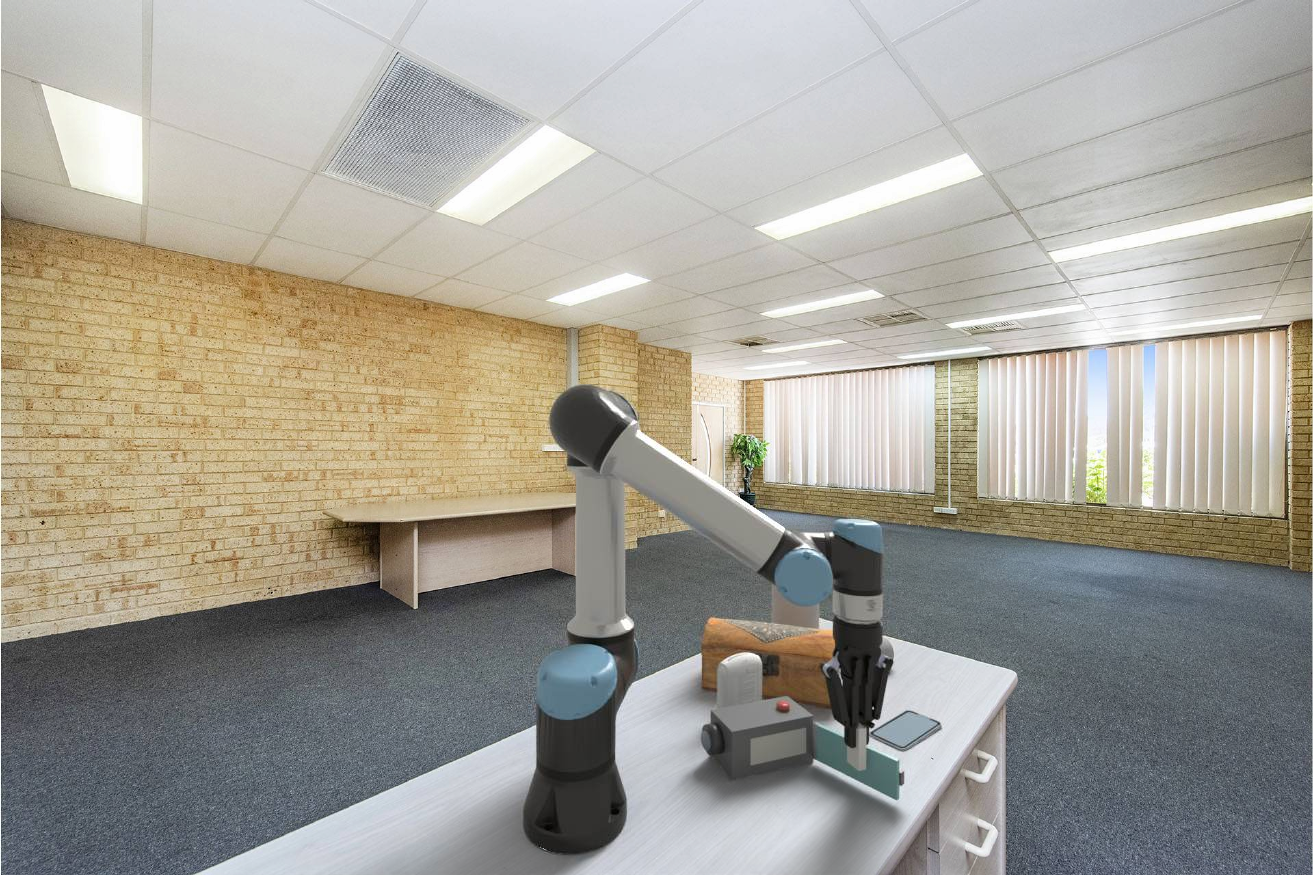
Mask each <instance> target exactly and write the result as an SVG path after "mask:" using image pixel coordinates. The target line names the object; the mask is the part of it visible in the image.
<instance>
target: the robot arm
mask: <svg viewBox="0 0 1313 875" xmlns="http://www.w3.org/2000/svg"><path fill="white" fill-rule="evenodd" d="M548 419H549V420H548V424H549V430H550V433H551V436H552V439H553V440H554V442H555V443H556V444H557V446H558V447H560V449H561V450H562V451H563V452H564V453H566V468H567V470H569V472H571V473H572V475H573V476H574V477H575V615H574V617H572V619H571V620H569V622H568V623H567V625H566V631H567V632H566V646H564V647H563V648H562V649H555V651H553V652H550V654H548V655H547V656H546V657H545V658H544V659H543V660H542V662H541V663H540V665H539V667H538V670H537V676H536V677H537V678H536V683H535V690H534V691H535V698H536V699H535V700H536V701H535V703H536V705H535V706H536V708H535V711H536V713H535V714H536V716H535V718H536V719H535V721H536V724H535V725H536V726H535V728H536V729H535V731H536V732H535V739H536V741H535V742H536V743H535V747H536V748H535V749H536V750H535V759H536V760H535V769H534V772H533V775H532V779H531V782H530V785H529V789H528V791H527V794H526V796H525V801H524V804H523V814H522V815H523V818H522V824H523V825H522V826H523V830H524V834H525V836H526V837H527V839H528V840H529V841H530V842H531V843H532V844H533V845H534V846H536V847H537V846H538V848H539V847H541V848H544V849H546V850H547V851H546V850H545V851H546V852H549V851H550V852H549V853H553V852H554V854H558V853H562V854H561V855H575V854H576V855H577V854H583V853H588V852H591V851H594V850H597V849H599V848H601V847H604V846H605V845H607V844H609V843H610V842H611V841H613V840H614V839H615V838H616V837H617V836H618V835H619V834H620V833H621V831H622V830H623V829H624V827H625V824H626V822H627V819H628V818H627V816H628V814H627V813H628V809H627V808H628V799H627V794H626V791H625V788H624V785H623V781H622V778H621V775H620V771H619V768H618V765H617V763H616V742H617V740H616V733H617V732H616V728H617V727H616V722H617V715H618V712H619V710H620V707H622V706H621V705H622V703H623V702H624V700H625V698H626V695H627V692H628V691H629V689H630V687H631V686H632V684H633V683H634V681H635V679H636V677H637V673H638V671H639V666H640V650H639V646H638V643H637V640H636V638H635V622H634V620H633V619H632V618H631V617H630V616H629V615H628V614H627V612H626V485H628V486H629V487H631V488H632V489H634V490H635V491H637V492H638V493H640V494H641V495H642V496H644V497H645V498H647V499H649V500H650V501H651V502H653V503H654V504H656V505H657V506H659V507H660V508H662V509H663V510H664V511H666V512H668V513H669V514H671V515H672V516H673V517H675V518H676V519H678V520H679V521H680V522H682V523H683V524H684V525H687V526H688V527H689V528H691V529H692V530H694V531H695V532H697V533H699V534H700V535H701V536H703V537H704V538H706V539H707V540H709V541H710V542H711V543H713V544H714V545H716V546H717V547H719V548H720V549H722V550H723V551H725V552H726V553H727V554H729V555H730V556H732V557H733V558H735V559H737V560H738V561H739V562H740V563H742V564H744V565H745V566H747V567H748V568H749V569H752V570H753V571H754V572H755V573H756V574H758V575H759V576H761V578H763V579H765V580H766V581H767V582H769V583H770V584H771V585H772V584H773V585H775V586H776V587H777V589H778V591H779V592H780V593H781V595H782V596H783V597H784V598H785V599H787V600H788V601H789V602H791V603H793V604H795V605H798V606H804V607H807V606H814V605H816V604H819V605H820V603H822V602H824V600H826V598H827V597H828V596H829V595H830V593H831V591H832V613H834V615H833V617H832V631H833V638H834V641H835V648H834V651H833V658H832V659H831V660H830V661H829V662H828V663H827V664H826V663H824V662H822V663H821V664H820V669H821V671H822V673H823V674H824V676H825V679H826V684H827V689H828V694H829V699H830V704H831V708H830V709H831V713H832V718H833V720H835V721H836V722H838V723H839V724H840V725H841V726H843V734H844V742H845V744H846V745H847V762H848V763H849V764H850V765H852V766H853V767H854V768H855V769H857V770H858V771H861V770H865V769H866V745H868V746H869V743H870V735H869V732H870V729H871V730H873V729H875V726H876V724H875V723H874V722H873V721H874V720H875V721H880V719H881V716H882V711H883V710H882V709H883V705H884V701H885V700H884V699H885V694H886V688H887V683H888V680H889V679H888V678H889V673H890V671H891V669H892V667H893V666H894V659H891V658H889V657H887V656H885V655H883V654H882V653H881V648H880V646H881V644H882V642H883V638H884V635H883V632H884V631H883V629H884V628H883V626H884V624H883V622H882V620H881V619H882V618H883V614H884V613H883V612H884V611H883V608H884V606H883V601H884V600H883V599H884V598H883V596H884V595H883V572H884V570H883V569H884V554H885V550H884V540H883V529H882V527H881V525H880V524H879V523H877V522H875V521H872V520H869V519H860V518H840V519H837V520H834V522H833V525H832V528H831V531H829V530H828V531H805V530H787V528H785V527H784V526H782V525H780V524H779V523H778V522H776V521H774V520H773V519H771V518H770V517H768V516H767V515H765V514H764V513H762V512H761V511H759V510H758V509H756V508H755V507H754V506H752V505H750V504H749V503H748V502H746V501H745V500H743V499H742V498H740V497H739V496H737V495H736V494H734V493H732V492H731V491H729V490H728V489H727V488H726V487H723V486H722V485H721V484H719V483H717V482H716V481H715V480H713V479H711V477H709V476H707V475H705V474H704V473H703V472H702V471H700V470H699V469H697V468H696V467H694V466H692V465H691V464H689V463H688V462H686V461H685V460H683V459H682V458H680V457H679V456H678V455H676V454H675V453H673V452H671V451H670V450H669V449H667V448H666V447H664V446H663V445H661V444H660V443H658V442H657V441H655V440H654V439H652V438H650V437H649V436H648V435H646V434H645V433H643V432H642V430H641V425H640V422H639V417H638V415H637V413H636V410H635V409H634V407H633V405H632V404H631V403H630V402H629V400H628V399H626V397H624V396H623V395H622V394H620V393H618V392H615V391H613V390H607V389H605V388H603V387H600V386H597V385H595V384H594V385H593V384H578V385H574V386H571V387H568V388H567V389H566V390H564V391H563V392H562V393H560V394H559V395H558V396H557V398H556V399H555V401H554V402H553V404H552V407H551V408H550V413H549V416H548ZM839 668H840V672H839ZM839 675H840V677H839ZM541 848H540V849H541Z"/></svg>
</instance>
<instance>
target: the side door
mask: <svg viewBox="0 0 1313 875" xmlns="http://www.w3.org/2000/svg"><path fill="white" fill-rule="evenodd" d="M815 760H816V761H817V762H820V763H822V764H823V765H825V766H827V767H829V768H830V769H833V770H835V771H837V772H839V773H841V774H843V775H844V776H847V777H849V778H850V779H853V780H856V781H857V782H859V783H861V784H863V785H865V786H867V787H869V788H871V789H873V790H875V791H877V792H879V793H881V794H882V795H885V796H887V797H889V798H891V799H893V800H895V801H899V799H900V787H902V786H904V784H905V770H903V769H901V768H900V759H899V757H898V758H897V757H895V756H893V755H891V754H888V753H886V752H884V751H881V750H879V749H878V748H875V747H873V746H872V745H871V746H870V745H869V744H868V745H866V769H865V770H861V771H858V770H857V769H855V768H854V767H853V766H852V765H850V764H849V763H848V762H847V745H846V744H845V742H844V733H841V732H839V731H837V730H834V729H832V728H830V727H828V726H825V725H823V724H821V723H819V722H817V721H813V761H815Z"/></svg>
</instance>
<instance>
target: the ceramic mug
mask: <svg viewBox="0 0 1313 875" xmlns="http://www.w3.org/2000/svg"><path fill="white" fill-rule="evenodd" d="M880 648H881V653H882V654H883V655H885V656H887V657H889V658H891V659H893V660H894V658H895V653H894V648H893V646H892V644H891V642H890V641H889V640H888V639H887V638H885V637H883V642H882V644H881V646H880Z"/></svg>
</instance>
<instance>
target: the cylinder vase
mask: <svg viewBox="0 0 1313 875" xmlns="http://www.w3.org/2000/svg"><path fill="white" fill-rule="evenodd" d="M771 623H774V624H784V625H791V626H797V627H804V628H813V629H820V603H819V604H816V605H814V606H807V607H804V606H798V605H795V604H793V603H791V602H789V601H788V600H787V599H785V598H784V597H783V596H782V595H781V593H780V592H779V591H778V589H777V587H776V586H775V585H773V584H772V583H771Z"/></svg>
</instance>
